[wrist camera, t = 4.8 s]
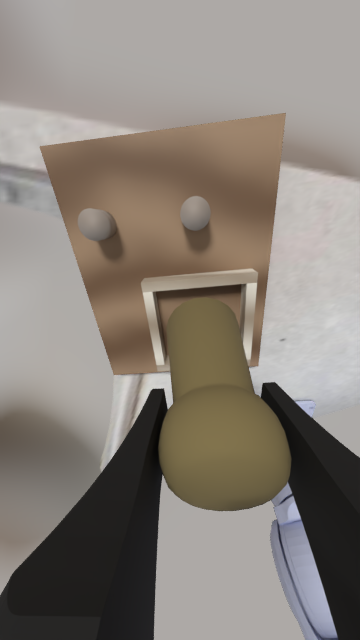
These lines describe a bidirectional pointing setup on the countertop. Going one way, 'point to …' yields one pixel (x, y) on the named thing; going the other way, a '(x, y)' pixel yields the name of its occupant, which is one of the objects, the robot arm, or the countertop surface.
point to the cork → (217, 416)
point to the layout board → (170, 228)
